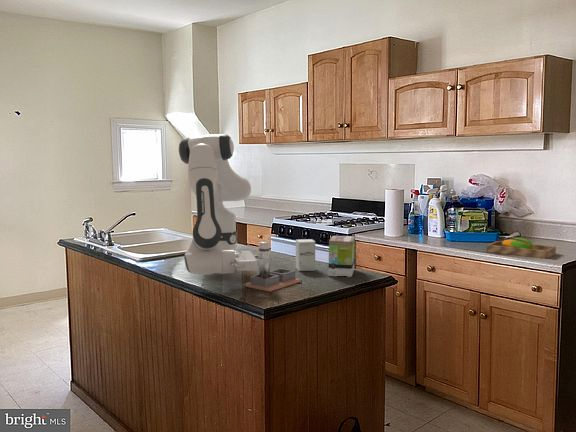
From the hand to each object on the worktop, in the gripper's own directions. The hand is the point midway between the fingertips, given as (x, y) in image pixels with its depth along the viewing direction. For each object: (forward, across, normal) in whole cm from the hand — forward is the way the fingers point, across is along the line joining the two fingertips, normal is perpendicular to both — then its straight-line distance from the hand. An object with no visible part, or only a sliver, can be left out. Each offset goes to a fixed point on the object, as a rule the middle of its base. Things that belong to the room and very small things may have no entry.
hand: (266, 259), depth 200 cm
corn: (+130, +40, +10) cm, 137 cm away
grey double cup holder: (+3, +3, +10) cm, 11 cm away
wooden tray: (+132, +38, +10) cm, 137 cm away
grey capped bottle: (-1, 0, +8) cm, 8 cm away
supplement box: (+21, +26, +10) cm, 35 cm away
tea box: (+34, +16, +11) cm, 39 cm away
